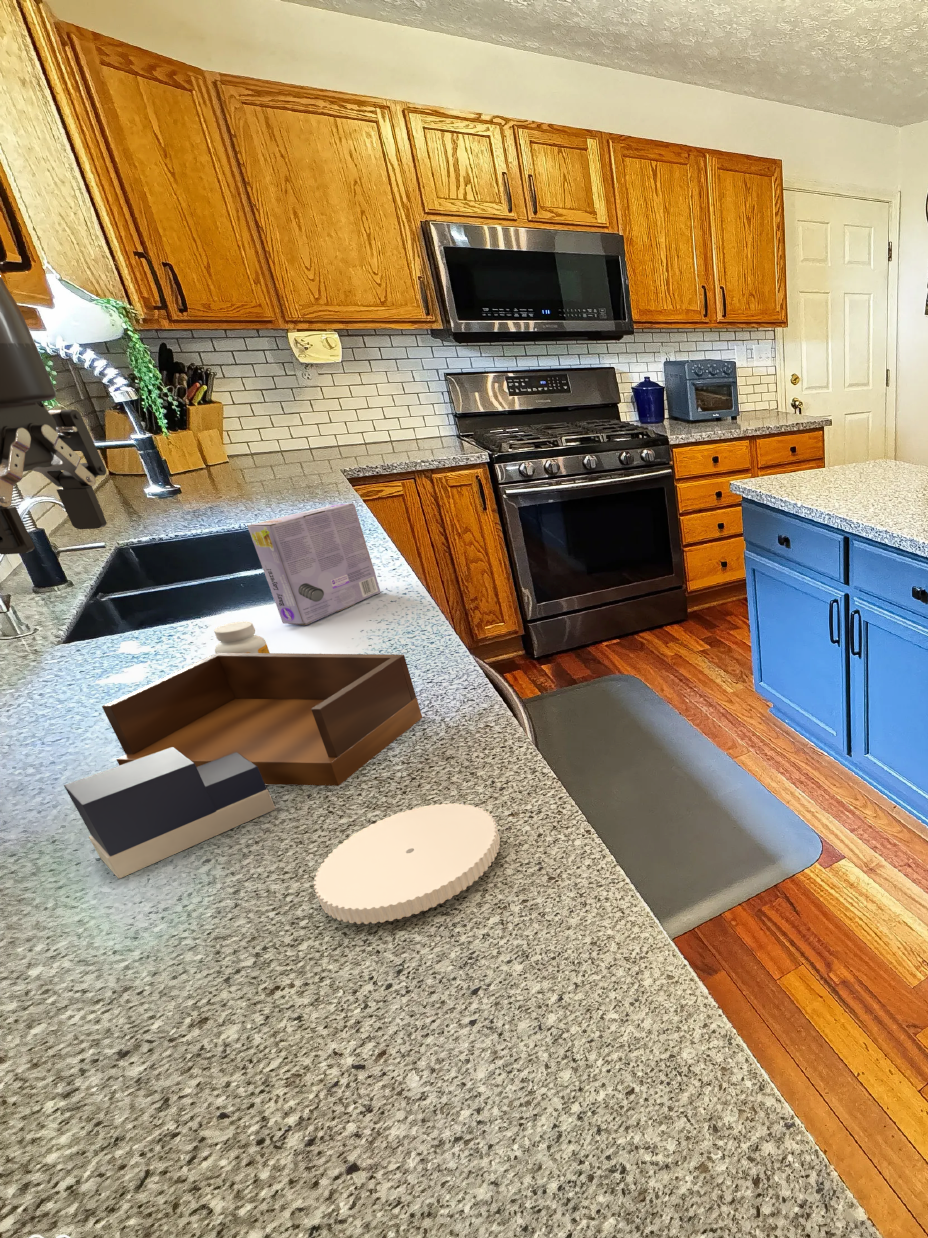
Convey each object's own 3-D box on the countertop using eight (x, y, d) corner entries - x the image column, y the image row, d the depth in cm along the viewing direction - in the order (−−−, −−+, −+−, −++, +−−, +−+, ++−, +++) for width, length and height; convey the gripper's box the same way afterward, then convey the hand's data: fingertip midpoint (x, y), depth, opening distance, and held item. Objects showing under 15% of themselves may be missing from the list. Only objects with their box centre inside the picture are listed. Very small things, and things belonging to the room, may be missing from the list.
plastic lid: (512, 890, 61) (506, 867, 60) (317, 959, 54) (306, 935, 53) (492, 807, 72) (487, 787, 71) (328, 856, 65) (319, 835, 64)
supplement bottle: (248, 702, 94) (221, 636, 90) (223, 695, 95) (196, 631, 92) (290, 685, 98) (267, 622, 94) (266, 679, 100) (242, 617, 96)
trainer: (118, 879, 62) (78, 806, 59) (99, 857, 65) (60, 786, 62) (275, 809, 72) (248, 742, 69) (253, 792, 75) (225, 727, 71)
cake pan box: (363, 590, 136) (336, 500, 129) (387, 590, 136) (361, 500, 129) (279, 626, 119) (242, 524, 112) (306, 627, 118) (271, 525, 111)
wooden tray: (127, 782, 76) (91, 710, 73) (242, 715, 90) (217, 652, 87) (338, 786, 76) (312, 713, 72) (422, 717, 89) (404, 654, 86)
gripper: (-19, 339, 60) (65, 524, 66) (-200, 338, 47) (-74, 566, 54) (87, 339, 62) (159, 519, 68) (-60, 338, 49) (45, 559, 56)
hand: (56, 539), depth 61 cm, fingers open, 8 cm apart
